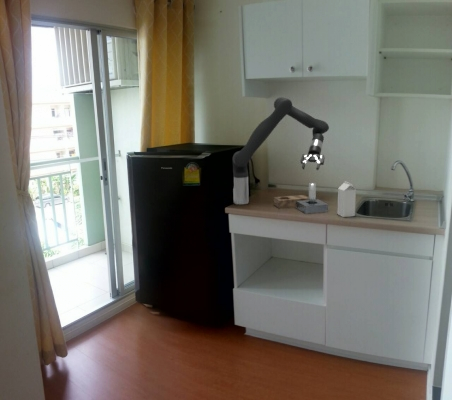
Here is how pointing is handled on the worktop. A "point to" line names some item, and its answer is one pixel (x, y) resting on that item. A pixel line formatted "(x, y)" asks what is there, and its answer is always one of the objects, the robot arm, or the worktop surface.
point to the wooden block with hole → (288, 201)
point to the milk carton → (346, 200)
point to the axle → (312, 193)
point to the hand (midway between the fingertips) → (310, 169)
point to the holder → (312, 206)
